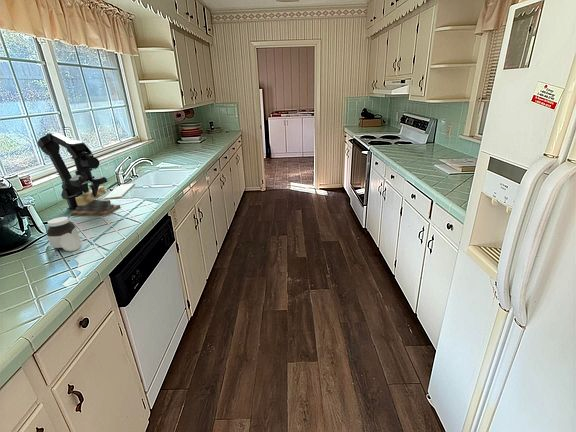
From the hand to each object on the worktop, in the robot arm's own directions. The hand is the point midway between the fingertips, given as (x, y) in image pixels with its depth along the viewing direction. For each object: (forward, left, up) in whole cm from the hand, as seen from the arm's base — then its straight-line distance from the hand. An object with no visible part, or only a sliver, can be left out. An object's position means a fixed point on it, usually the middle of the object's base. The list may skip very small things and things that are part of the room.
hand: (91, 196), depth 165 cm
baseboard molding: (-12, +36, -9) cm, 39 cm away
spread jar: (+20, -41, -8) cm, 46 cm away
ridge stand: (0, 0, -8) cm, 8 cm away
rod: (0, 0, -1) cm, 1 cm away
